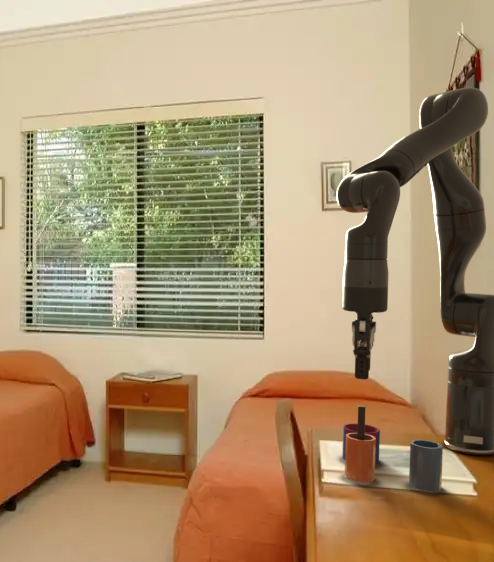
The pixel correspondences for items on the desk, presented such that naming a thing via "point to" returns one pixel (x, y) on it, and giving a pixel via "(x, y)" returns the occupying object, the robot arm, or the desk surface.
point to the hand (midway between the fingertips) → (362, 374)
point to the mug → (368, 430)
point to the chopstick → (361, 422)
